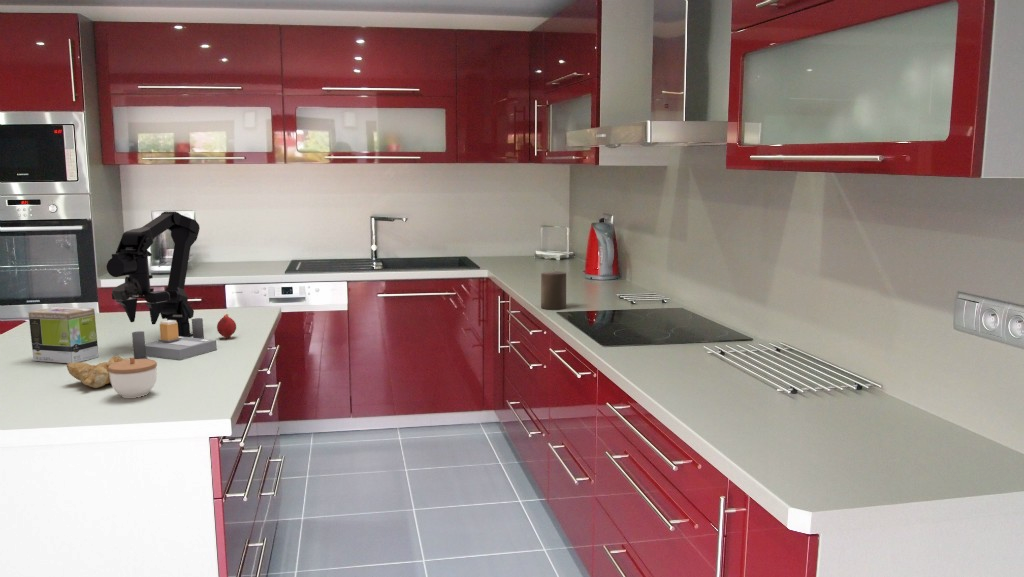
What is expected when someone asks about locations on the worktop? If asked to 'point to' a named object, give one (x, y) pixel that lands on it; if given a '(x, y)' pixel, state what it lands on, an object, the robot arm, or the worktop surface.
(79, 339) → the tea box
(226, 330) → the onion
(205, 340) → the panel
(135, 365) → the lidded jar
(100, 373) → the ginger root
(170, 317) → the robot arm
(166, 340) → the block
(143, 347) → the cable post
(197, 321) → the cable post
